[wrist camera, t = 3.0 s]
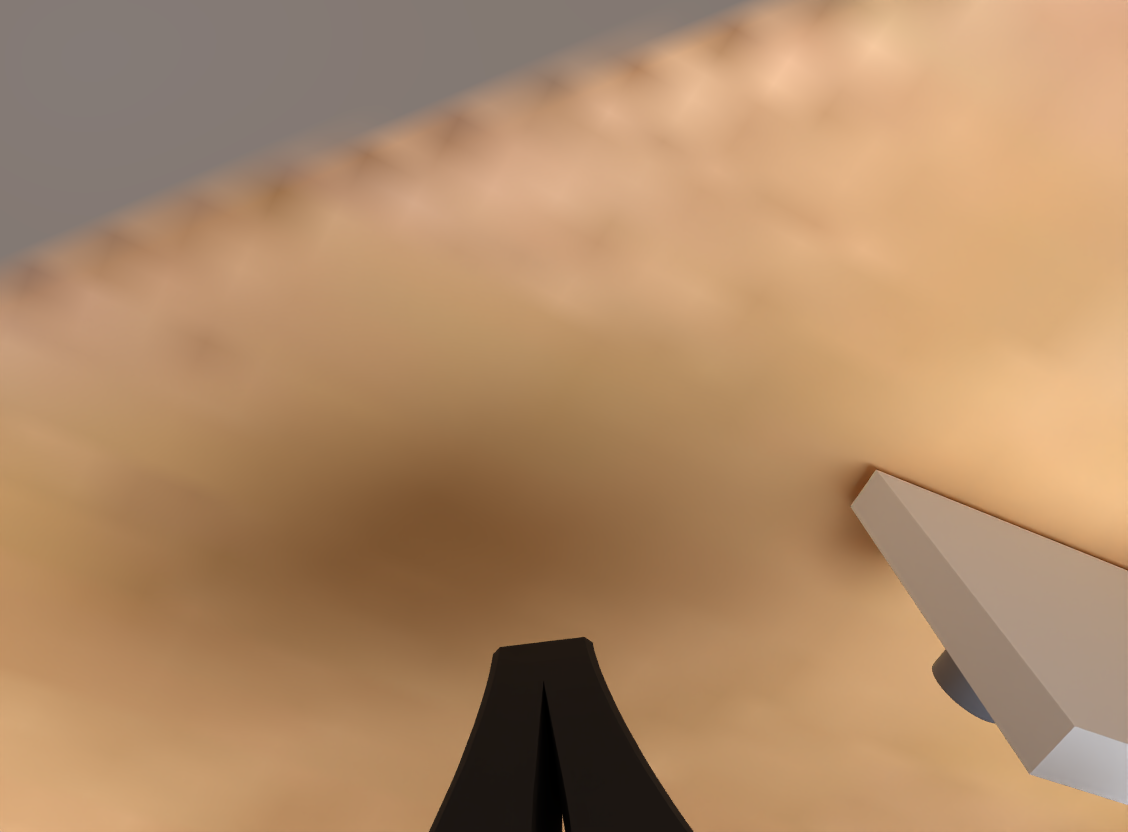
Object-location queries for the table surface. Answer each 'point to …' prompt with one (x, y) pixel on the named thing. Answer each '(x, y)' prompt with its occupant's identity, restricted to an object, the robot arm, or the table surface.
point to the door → (1016, 630)
